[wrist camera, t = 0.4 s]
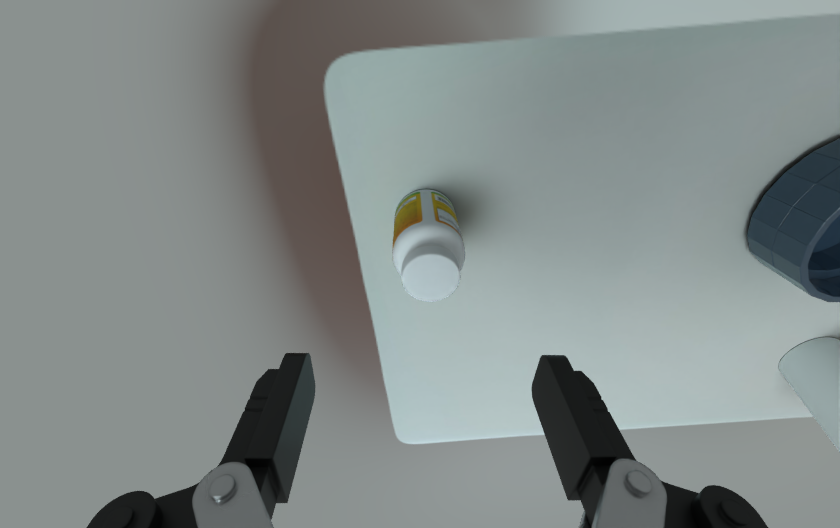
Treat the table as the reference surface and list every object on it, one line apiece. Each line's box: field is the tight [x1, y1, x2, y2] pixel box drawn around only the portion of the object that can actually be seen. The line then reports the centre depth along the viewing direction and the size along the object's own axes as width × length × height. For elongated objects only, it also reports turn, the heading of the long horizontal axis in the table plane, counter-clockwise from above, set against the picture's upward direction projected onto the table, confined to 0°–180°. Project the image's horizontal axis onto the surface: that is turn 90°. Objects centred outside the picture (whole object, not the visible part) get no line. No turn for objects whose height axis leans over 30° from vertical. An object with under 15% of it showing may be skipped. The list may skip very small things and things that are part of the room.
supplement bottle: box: [392, 189, 465, 302], centre depth 28 cm, size 5×5×10 cm
